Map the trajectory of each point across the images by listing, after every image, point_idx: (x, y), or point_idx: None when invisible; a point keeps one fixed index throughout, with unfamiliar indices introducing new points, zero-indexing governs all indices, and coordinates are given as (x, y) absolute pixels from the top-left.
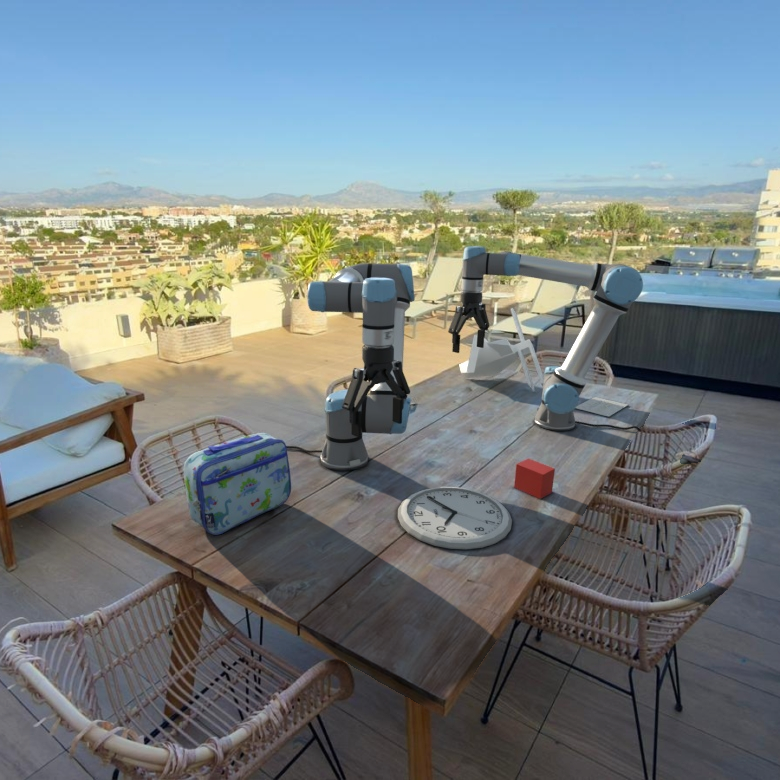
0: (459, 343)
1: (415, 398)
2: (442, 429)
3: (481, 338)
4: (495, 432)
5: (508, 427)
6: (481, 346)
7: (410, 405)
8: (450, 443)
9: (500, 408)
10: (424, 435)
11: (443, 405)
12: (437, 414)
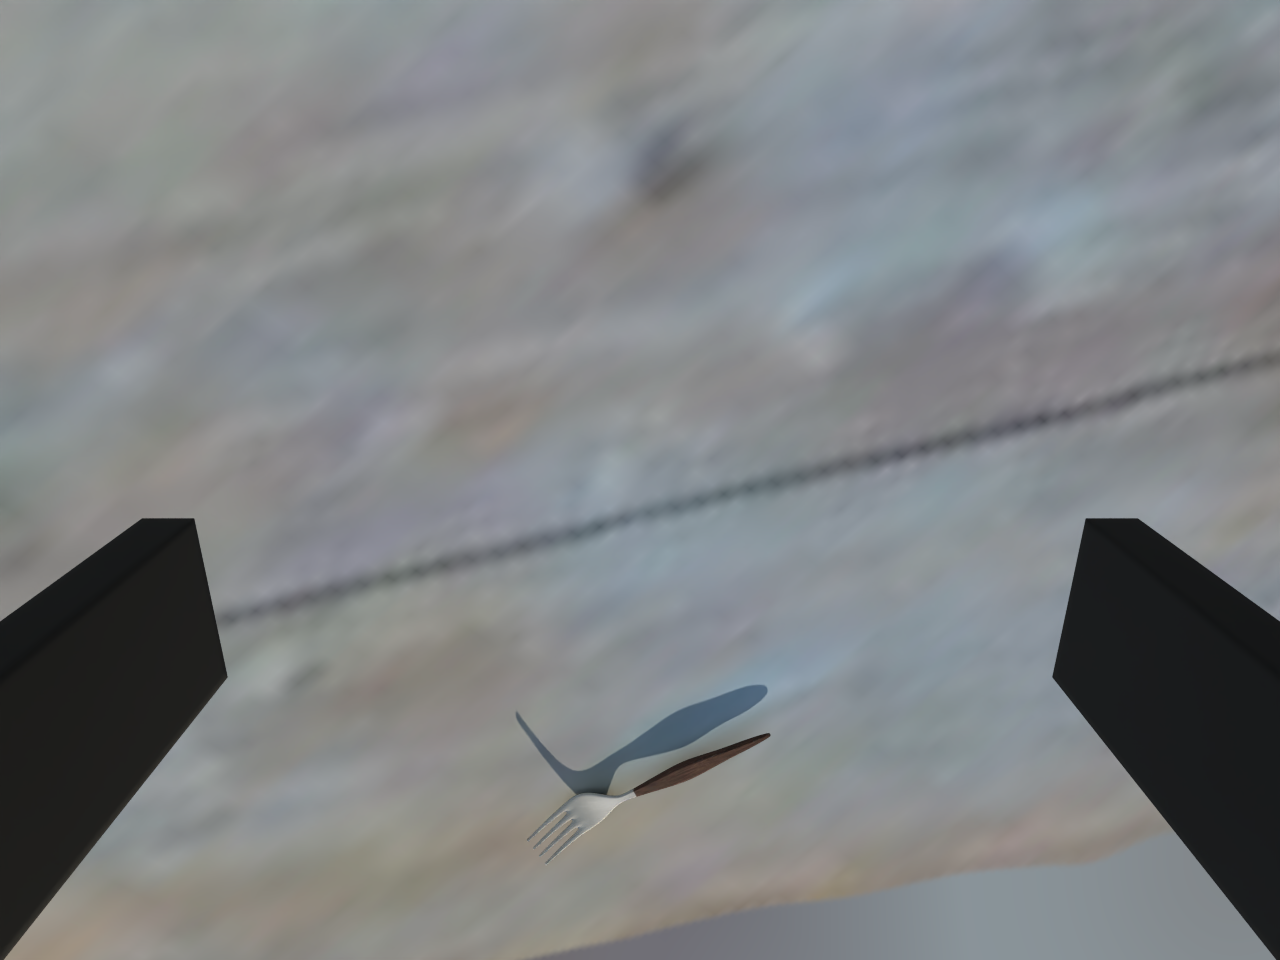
0: (1270, 648)
1: (545, 838)
2: (811, 352)
3: (42, 706)
4: (532, 21)
5: (347, 22)
6: (180, 559)
7: (647, 782)
8: (998, 112)
9: (77, 372)
10: (1001, 353)
11: (430, 673)
12: (604, 578)
